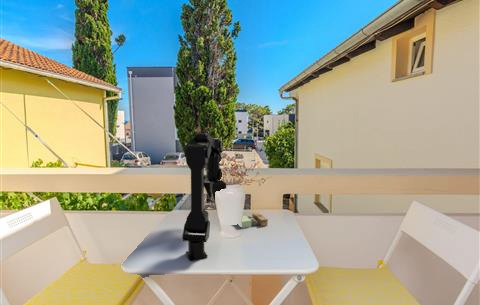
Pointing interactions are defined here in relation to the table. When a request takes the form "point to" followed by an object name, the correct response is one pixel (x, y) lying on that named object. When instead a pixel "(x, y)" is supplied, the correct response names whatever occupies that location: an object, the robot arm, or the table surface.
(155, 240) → the table surface
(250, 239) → the table surface
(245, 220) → the hinge leaf
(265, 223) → the hinge base
